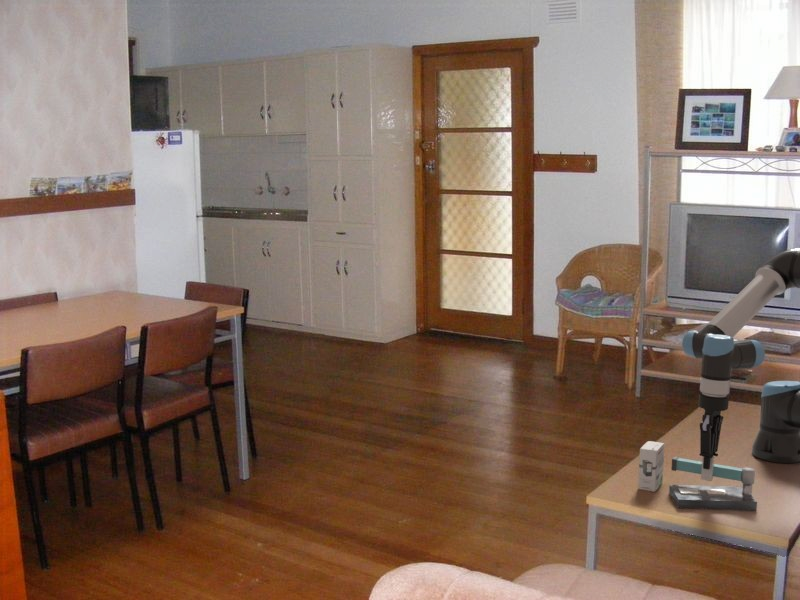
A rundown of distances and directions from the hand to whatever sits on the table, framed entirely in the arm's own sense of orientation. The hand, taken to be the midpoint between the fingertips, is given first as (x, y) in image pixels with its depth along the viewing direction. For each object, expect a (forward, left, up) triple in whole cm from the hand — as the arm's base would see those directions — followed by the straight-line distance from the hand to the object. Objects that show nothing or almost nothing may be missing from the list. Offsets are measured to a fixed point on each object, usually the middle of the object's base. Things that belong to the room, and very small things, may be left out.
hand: (706, 479), depth 252 cm
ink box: (+13, -9, -6) cm, 17 cm away
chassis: (-1, +2, -6) cm, 6 cm away
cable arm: (-2, -2, 0) cm, 3 cm away
